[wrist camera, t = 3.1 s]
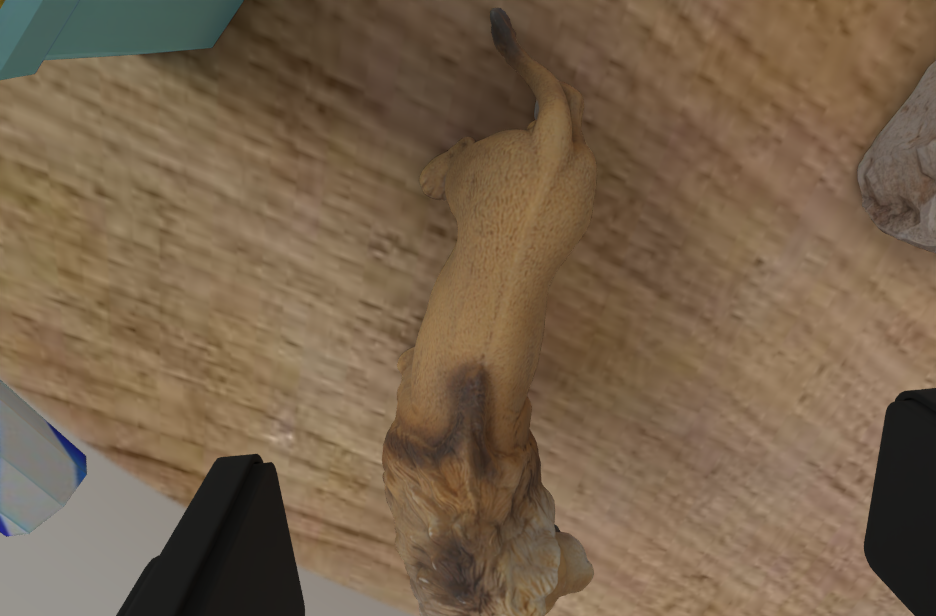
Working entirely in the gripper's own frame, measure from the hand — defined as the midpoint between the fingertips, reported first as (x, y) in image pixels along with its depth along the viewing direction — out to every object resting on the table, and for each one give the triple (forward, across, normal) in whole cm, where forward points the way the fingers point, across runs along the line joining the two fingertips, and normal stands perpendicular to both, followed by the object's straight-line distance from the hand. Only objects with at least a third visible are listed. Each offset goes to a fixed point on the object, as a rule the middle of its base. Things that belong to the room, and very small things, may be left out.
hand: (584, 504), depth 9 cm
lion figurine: (+11, +1, 0) cm, 11 cm away
